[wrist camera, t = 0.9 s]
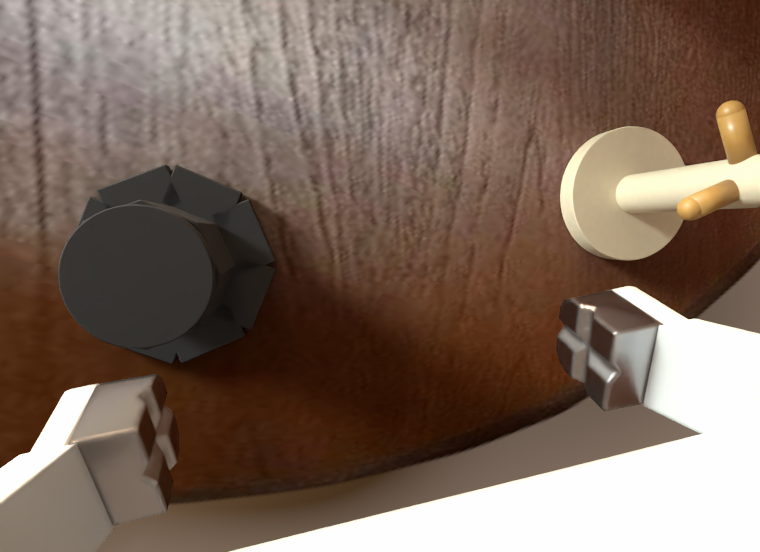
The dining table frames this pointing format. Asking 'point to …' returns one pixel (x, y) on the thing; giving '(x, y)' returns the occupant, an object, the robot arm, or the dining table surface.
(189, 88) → the dining table surface
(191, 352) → the hat
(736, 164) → the hat stand
